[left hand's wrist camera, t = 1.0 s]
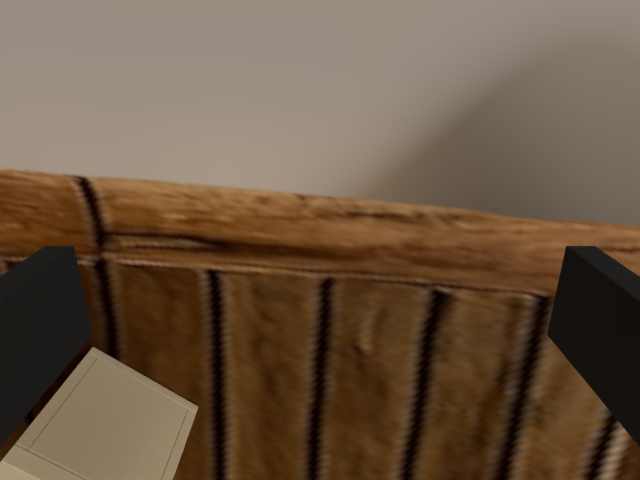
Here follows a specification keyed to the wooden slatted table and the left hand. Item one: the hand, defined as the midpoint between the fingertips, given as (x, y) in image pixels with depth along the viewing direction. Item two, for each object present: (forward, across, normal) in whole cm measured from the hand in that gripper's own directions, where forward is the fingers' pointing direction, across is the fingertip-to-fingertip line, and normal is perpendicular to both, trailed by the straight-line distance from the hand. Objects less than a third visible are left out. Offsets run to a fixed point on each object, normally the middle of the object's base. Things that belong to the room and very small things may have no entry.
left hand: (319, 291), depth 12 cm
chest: (+20, +19, +25) cm, 38 cm away
